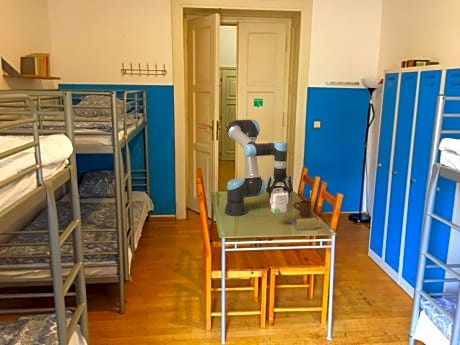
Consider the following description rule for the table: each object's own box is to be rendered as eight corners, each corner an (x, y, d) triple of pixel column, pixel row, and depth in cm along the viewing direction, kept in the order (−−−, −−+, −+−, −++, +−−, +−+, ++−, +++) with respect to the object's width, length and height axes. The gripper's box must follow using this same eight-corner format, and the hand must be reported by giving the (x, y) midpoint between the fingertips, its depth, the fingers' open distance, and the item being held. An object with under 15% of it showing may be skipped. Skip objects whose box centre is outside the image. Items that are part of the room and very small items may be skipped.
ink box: (274, 213, 247) (275, 190, 243) (270, 211, 251) (271, 188, 248) (286, 212, 250) (287, 189, 247) (282, 209, 255) (283, 187, 251)
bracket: (297, 230, 244) (297, 219, 243) (288, 221, 262) (288, 211, 261) (316, 229, 246) (316, 218, 245) (306, 220, 264) (306, 210, 262)
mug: (293, 216, 272) (293, 203, 271) (292, 213, 280) (293, 200, 278) (311, 217, 271) (311, 203, 269) (310, 213, 279) (310, 200, 277)
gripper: (263, 169, 239) (262, 205, 244) (299, 168, 243) (297, 204, 247) (261, 166, 247) (260, 201, 252) (295, 165, 250) (294, 200, 255)
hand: (278, 202), depth 249 cm, fingers closed on ink box, 9 cm apart
